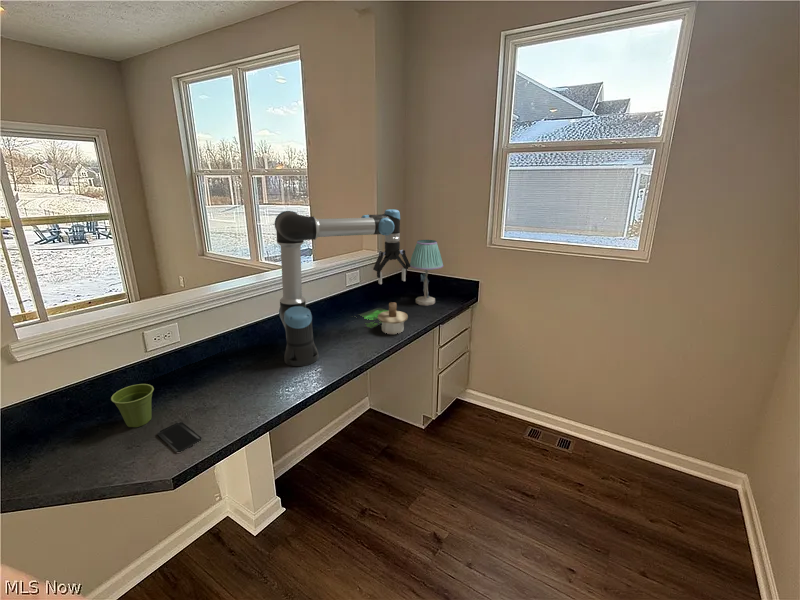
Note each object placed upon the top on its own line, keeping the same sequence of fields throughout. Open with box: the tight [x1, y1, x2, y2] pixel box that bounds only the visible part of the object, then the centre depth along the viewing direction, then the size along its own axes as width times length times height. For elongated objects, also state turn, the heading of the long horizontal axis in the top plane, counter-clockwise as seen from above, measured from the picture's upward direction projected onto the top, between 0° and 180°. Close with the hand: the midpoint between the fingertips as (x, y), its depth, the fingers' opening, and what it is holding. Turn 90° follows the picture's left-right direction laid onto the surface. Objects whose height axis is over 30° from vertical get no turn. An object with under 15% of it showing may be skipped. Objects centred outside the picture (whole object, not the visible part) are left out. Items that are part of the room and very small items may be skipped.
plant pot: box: [110, 383, 155, 428], centre depth 130 cm, size 12×12×11 cm
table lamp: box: [409, 239, 444, 306], centre depth 245 cm, size 22×22×40 cm
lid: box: [378, 301, 409, 324], centre depth 204 cm, size 16×16×8 cm
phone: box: [156, 421, 203, 453], centre depth 124 cm, size 8×1×15 cm
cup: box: [381, 321, 405, 335], centre depth 207 cm, size 11×11×7 cm
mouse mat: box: [350, 307, 389, 329], centre depth 225 cm, size 27×22×1 cm
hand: (392, 282), depth 199 cm, fingers open, 13 cm apart
